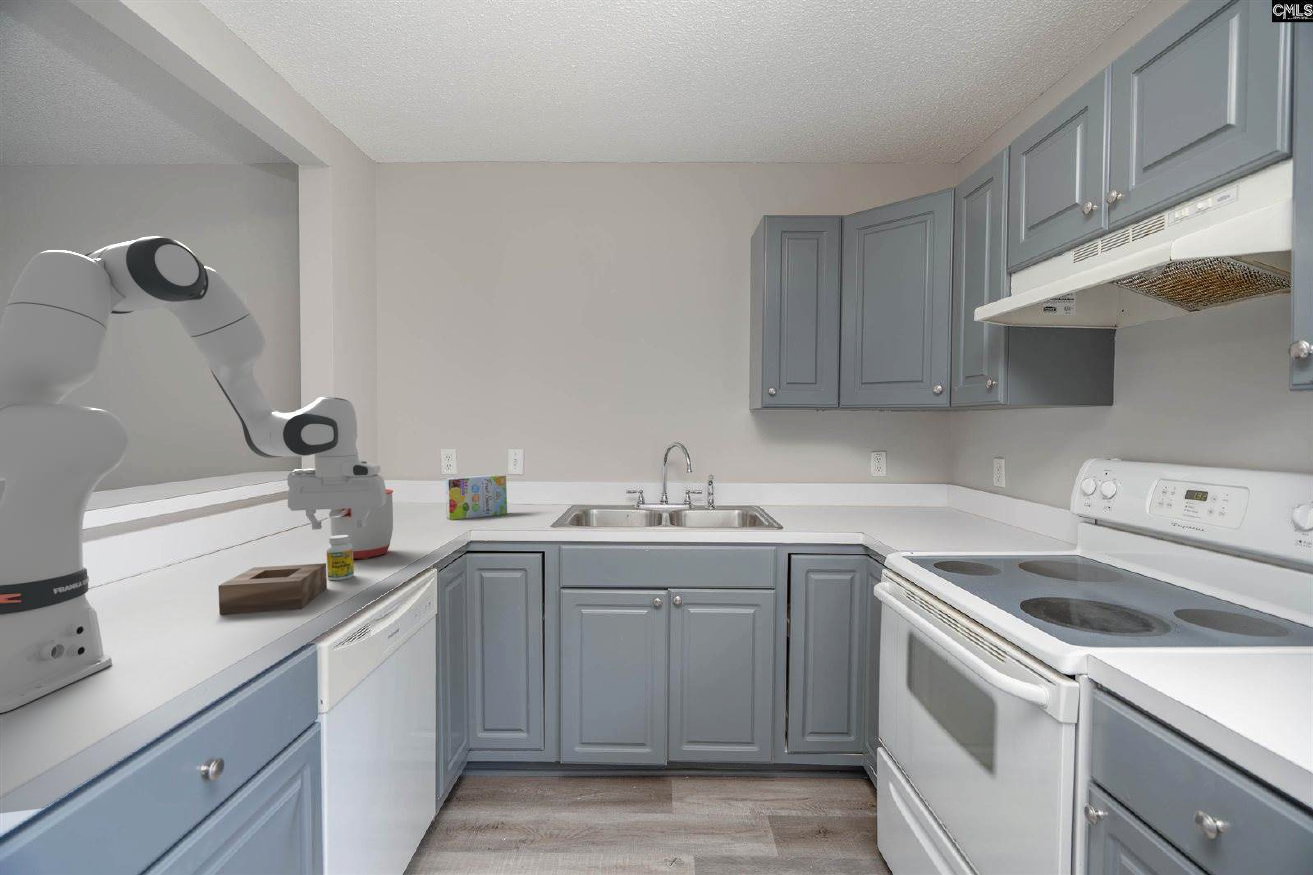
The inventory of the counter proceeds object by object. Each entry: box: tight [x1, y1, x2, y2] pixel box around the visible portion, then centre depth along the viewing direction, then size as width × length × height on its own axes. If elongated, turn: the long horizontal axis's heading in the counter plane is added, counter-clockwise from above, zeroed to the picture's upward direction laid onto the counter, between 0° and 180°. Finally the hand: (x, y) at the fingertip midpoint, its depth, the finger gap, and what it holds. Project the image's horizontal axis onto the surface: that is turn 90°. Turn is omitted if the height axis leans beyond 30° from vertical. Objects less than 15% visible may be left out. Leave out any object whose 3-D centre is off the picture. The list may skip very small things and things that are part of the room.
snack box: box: [445, 474, 508, 521], centre depth 221 cm, size 21×6×15 cm, turn 121°
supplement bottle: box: [326, 535, 355, 581], centre depth 136 cm, size 5×5×10 cm
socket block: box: [218, 562, 328, 615], centre depth 119 cm, size 14×14×6 cm
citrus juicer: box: [328, 489, 394, 560], centre depth 158 cm, size 16×17×20 cm
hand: (339, 528), depth 136 cm, fingers open, 8 cm apart
